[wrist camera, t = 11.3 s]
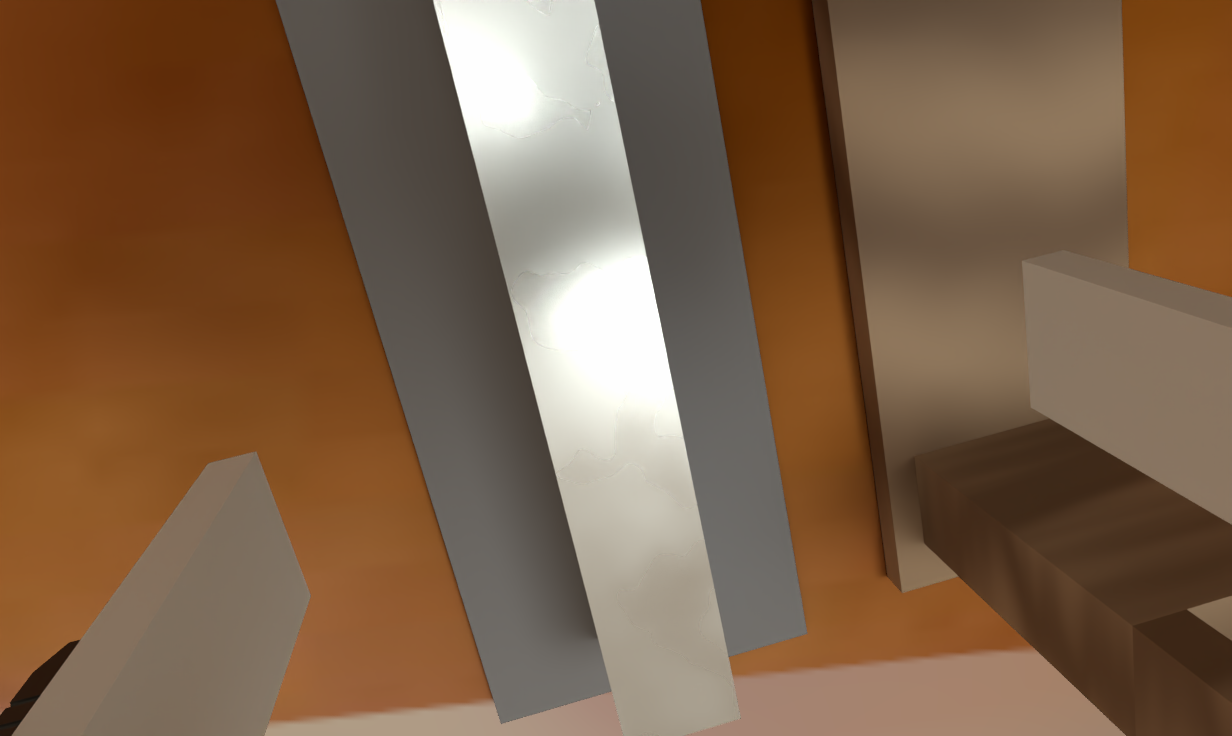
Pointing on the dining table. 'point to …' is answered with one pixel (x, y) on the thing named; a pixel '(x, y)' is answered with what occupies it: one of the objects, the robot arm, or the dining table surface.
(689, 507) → the rail
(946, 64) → the stand
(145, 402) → the dining table surface
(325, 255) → the dining table surface
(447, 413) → the mat
